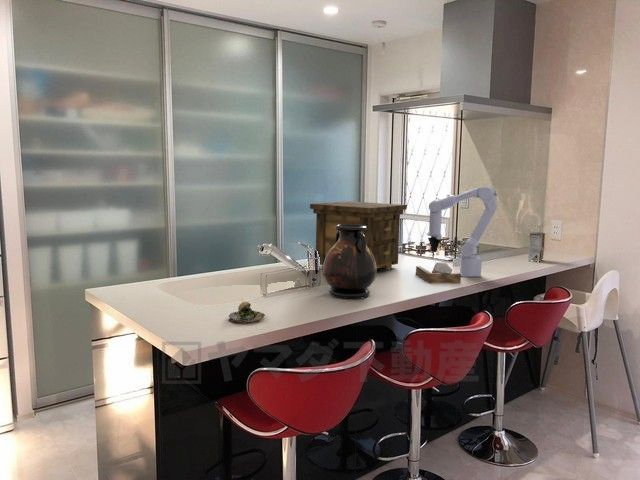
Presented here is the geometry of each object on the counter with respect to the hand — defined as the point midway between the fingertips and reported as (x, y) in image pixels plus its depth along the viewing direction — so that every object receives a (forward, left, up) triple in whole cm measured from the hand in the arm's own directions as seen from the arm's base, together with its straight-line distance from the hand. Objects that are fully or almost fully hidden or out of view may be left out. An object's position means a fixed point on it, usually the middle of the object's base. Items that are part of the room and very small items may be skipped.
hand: (433, 251), depth 264 cm
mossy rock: (+91, +81, -10) cm, 122 cm away
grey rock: (+2, +19, -10) cm, 21 cm away
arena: (+4, +16, -10) cm, 19 cm away
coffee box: (-71, -30, -10) cm, 78 cm away
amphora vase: (+51, +48, -10) cm, 71 cm away
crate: (+37, -9, -10) cm, 39 cm away
